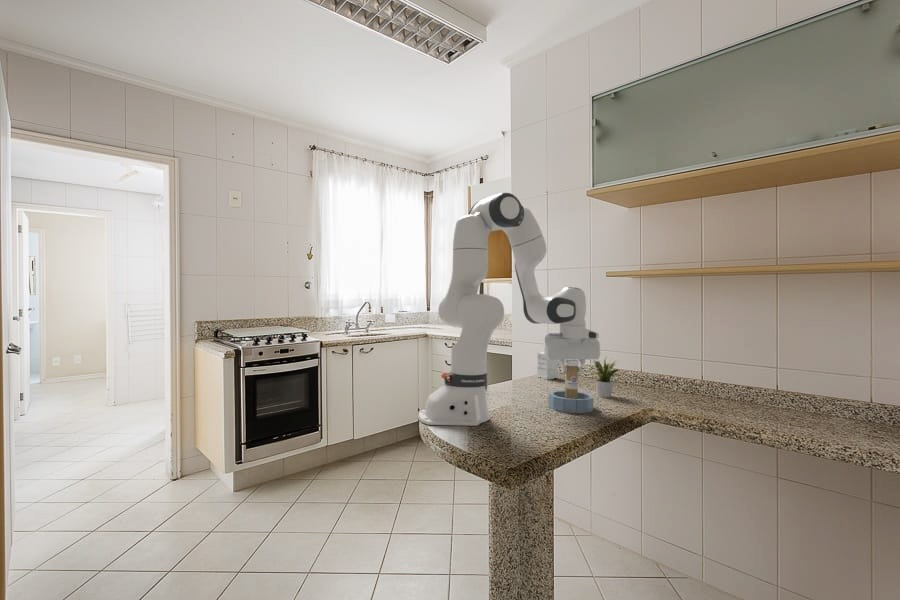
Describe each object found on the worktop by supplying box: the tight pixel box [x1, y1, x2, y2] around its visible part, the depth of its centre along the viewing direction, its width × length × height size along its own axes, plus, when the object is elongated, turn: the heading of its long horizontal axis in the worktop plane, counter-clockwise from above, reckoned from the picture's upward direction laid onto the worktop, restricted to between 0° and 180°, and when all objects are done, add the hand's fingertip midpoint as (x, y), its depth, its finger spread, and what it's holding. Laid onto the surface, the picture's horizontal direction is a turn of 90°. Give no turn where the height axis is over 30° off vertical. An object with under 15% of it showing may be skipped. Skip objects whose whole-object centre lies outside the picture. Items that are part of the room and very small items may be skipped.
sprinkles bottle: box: [564, 359, 580, 399], centre depth 149 cm, size 5×5×14 cm
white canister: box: [536, 351, 559, 380], centre depth 208 cm, size 7×7×13 cm
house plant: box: [587, 355, 620, 399], centre depth 169 cm, size 14×14×16 cm
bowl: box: [548, 389, 594, 414], centre depth 149 cm, size 15×15×4 cm
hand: (571, 372), depth 149 cm, fingers closed on sprinkles bottle, 4 cm apart
